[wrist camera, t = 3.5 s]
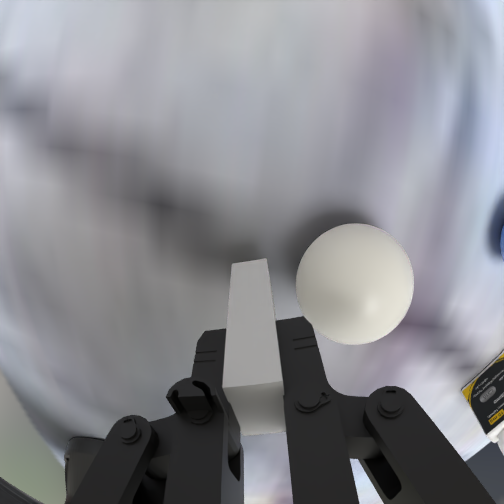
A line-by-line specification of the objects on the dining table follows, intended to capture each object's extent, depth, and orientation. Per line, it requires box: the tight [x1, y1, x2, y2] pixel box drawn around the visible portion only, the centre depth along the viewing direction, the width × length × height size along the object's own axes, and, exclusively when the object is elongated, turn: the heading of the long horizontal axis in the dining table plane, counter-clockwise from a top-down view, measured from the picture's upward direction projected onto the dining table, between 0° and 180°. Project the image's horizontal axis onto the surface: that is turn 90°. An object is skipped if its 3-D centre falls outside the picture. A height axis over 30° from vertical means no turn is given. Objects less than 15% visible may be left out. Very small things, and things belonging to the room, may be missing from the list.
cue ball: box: [296, 223, 414, 345], centre depth 13 cm, size 6×6×6 cm
